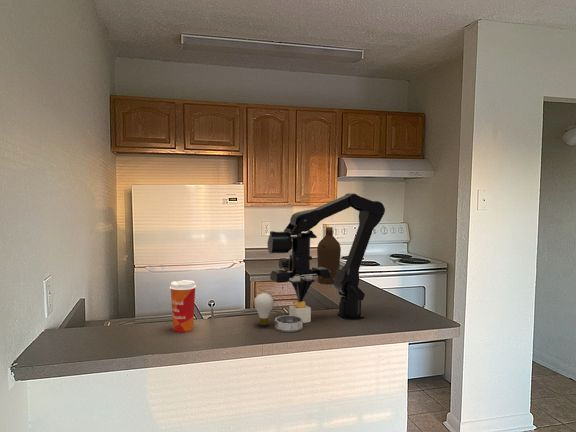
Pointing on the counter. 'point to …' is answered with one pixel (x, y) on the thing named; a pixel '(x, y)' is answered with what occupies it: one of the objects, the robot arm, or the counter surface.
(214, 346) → the counter surface
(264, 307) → the light bulb
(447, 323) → the counter surface
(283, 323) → the grey round shallow bowl
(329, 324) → the counter surface
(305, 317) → the white jar
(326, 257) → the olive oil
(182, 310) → the paper cup
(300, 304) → the breaker button
